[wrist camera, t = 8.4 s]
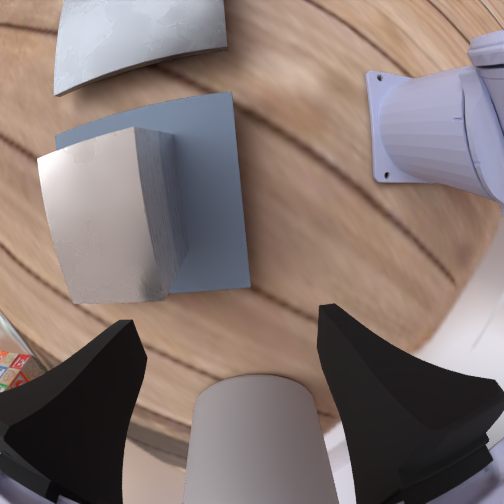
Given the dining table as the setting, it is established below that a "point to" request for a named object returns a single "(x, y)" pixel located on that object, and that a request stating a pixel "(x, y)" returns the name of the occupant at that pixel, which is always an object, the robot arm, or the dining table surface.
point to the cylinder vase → (257, 445)
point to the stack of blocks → (17, 370)
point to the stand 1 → (132, 36)
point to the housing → (116, 216)
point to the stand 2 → (196, 183)
